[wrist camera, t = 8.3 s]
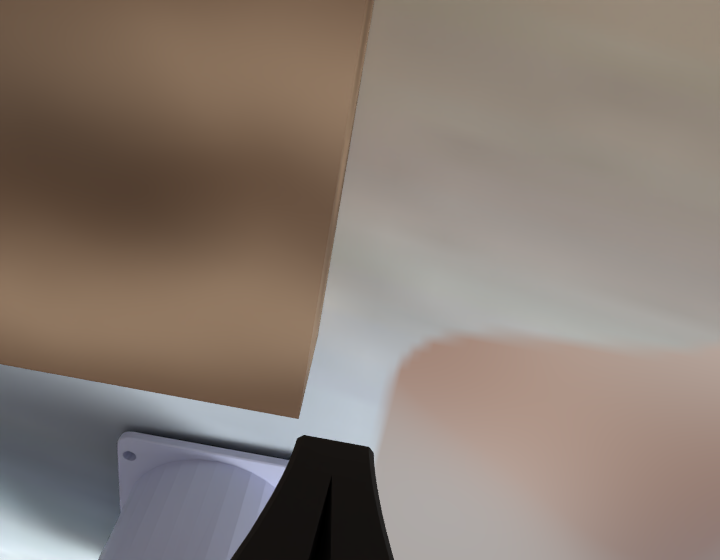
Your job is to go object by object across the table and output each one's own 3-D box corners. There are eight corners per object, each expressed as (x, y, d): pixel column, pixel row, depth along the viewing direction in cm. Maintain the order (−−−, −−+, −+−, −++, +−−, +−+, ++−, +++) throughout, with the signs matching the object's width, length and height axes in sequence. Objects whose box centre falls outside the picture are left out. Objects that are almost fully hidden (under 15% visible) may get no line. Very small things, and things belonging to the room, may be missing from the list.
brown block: (317, 337, 22) (298, 418, 19) (-57, 268, 22) (-145, 337, 18) (381, -45, 16) (370, -28, 12) (-143, -149, 15) (-303, -161, 12)
